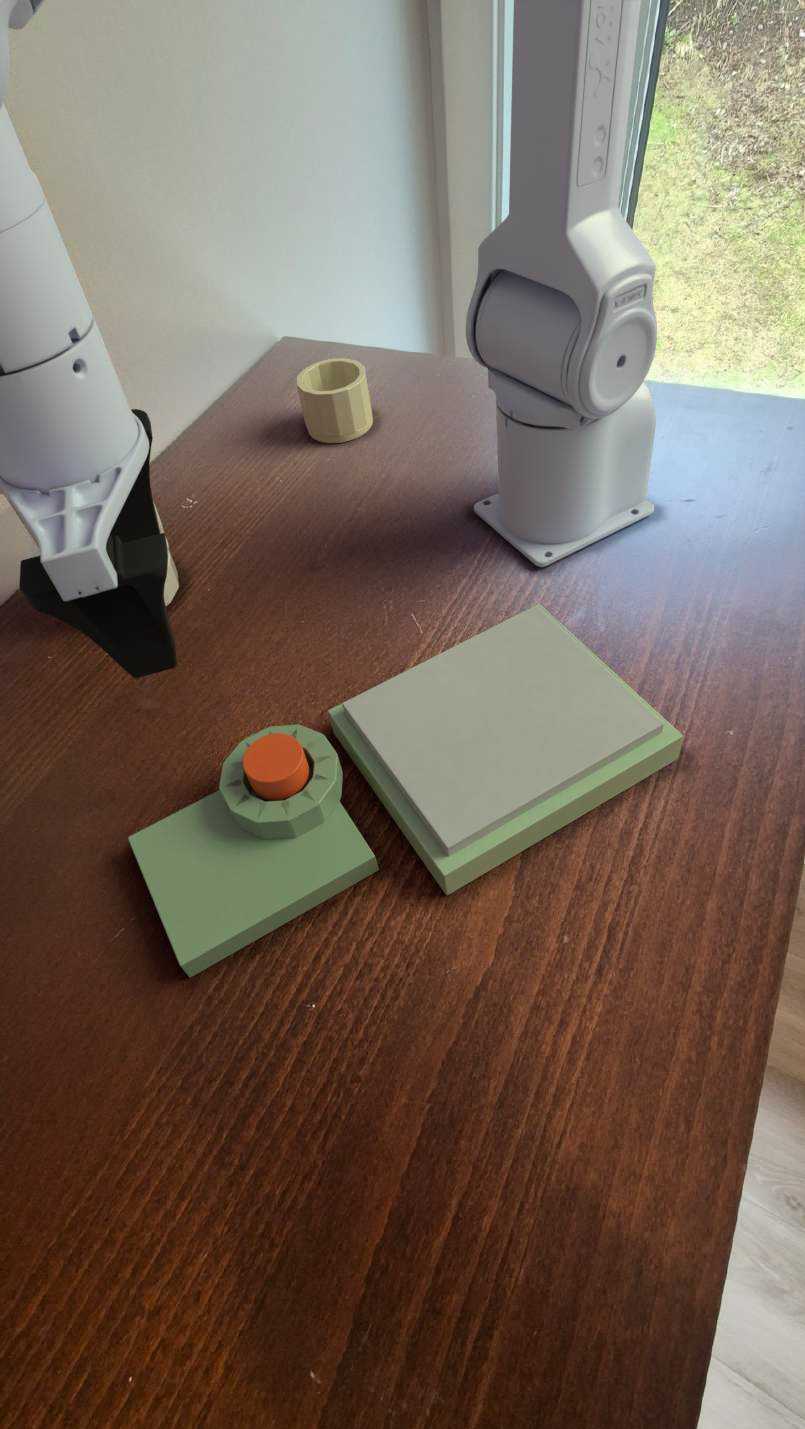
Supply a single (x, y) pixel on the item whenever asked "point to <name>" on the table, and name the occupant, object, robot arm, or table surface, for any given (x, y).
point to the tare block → (251, 856)
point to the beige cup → (335, 400)
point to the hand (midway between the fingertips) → (149, 614)
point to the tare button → (276, 766)
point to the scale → (500, 743)
